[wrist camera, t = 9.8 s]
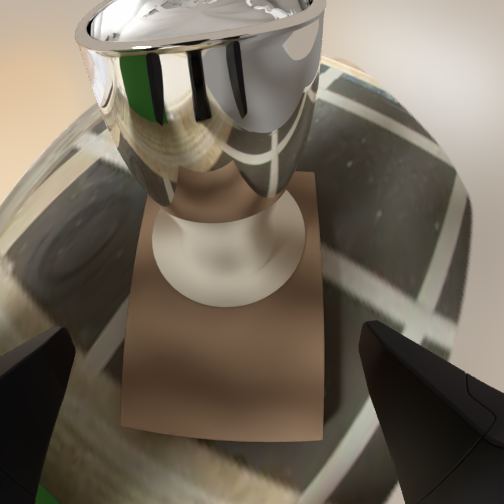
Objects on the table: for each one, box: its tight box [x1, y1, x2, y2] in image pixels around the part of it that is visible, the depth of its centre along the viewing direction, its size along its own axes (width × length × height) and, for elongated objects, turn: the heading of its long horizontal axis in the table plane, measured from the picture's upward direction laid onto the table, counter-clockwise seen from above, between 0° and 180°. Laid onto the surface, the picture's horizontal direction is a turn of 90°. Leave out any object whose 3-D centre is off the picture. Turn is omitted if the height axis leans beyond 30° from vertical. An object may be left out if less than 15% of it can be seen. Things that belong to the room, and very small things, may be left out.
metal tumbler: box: [75, 0, 326, 279], centre depth 12 cm, size 7×7×15 cm
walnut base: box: [121, 171, 324, 442], centre depth 19 cm, size 18×12×2 cm, turn 179°
